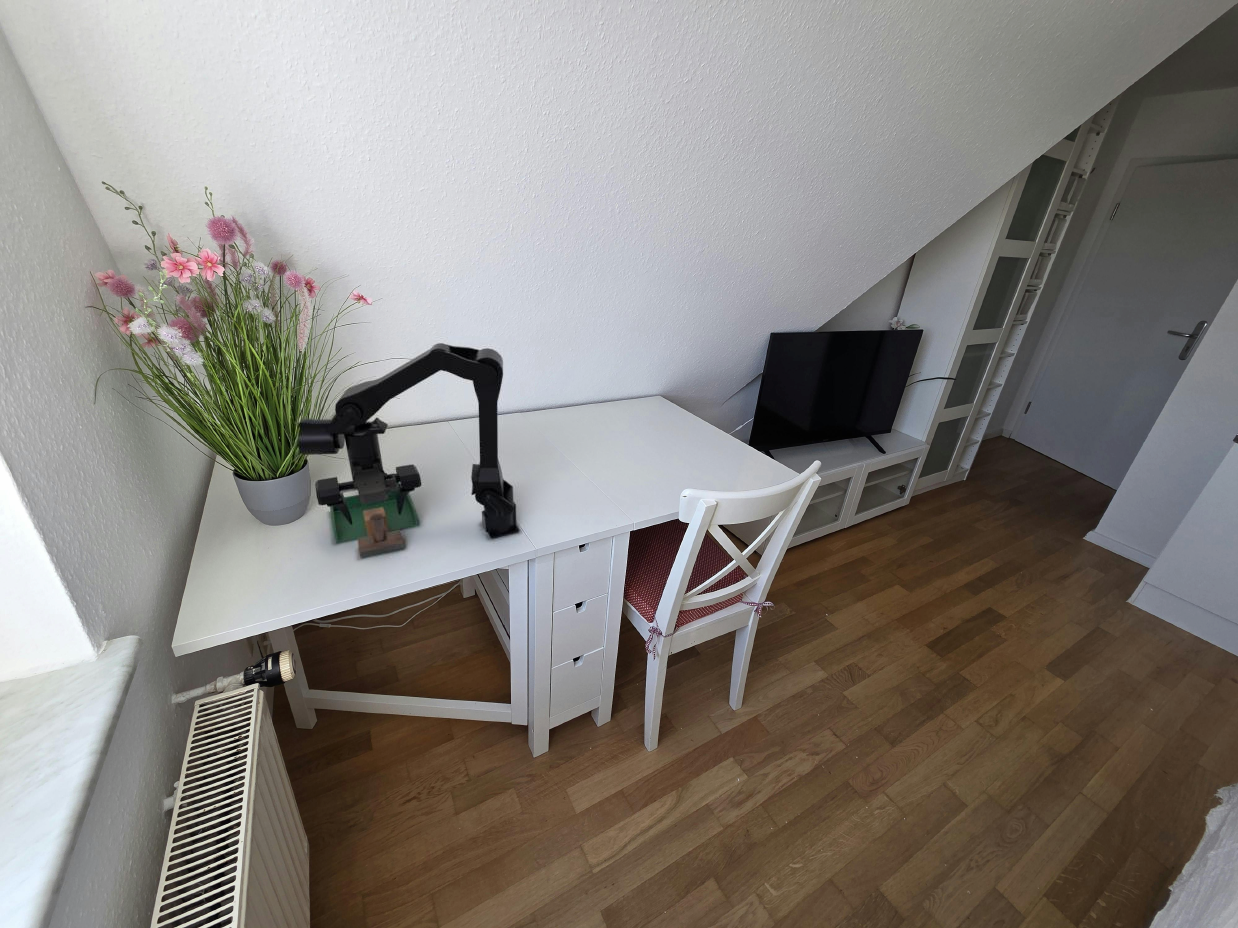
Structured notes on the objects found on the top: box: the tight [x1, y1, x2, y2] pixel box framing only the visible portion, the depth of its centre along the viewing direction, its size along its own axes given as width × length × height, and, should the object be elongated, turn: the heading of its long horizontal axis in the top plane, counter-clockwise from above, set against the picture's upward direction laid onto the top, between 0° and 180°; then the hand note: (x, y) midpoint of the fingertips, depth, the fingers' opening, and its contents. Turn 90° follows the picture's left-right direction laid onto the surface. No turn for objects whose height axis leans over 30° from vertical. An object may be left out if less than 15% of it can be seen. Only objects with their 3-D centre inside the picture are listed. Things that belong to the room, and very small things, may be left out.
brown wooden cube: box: [363, 507, 388, 536], centre depth 109 cm, size 4×4×4 cm
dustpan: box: [329, 491, 419, 544], centre depth 116 cm, size 22×16×3 cm
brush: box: [357, 514, 405, 559], centre depth 102 cm, size 8×3×8 cm, turn 117°
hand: (375, 518), depth 107 cm, fingers open, 9 cm apart
